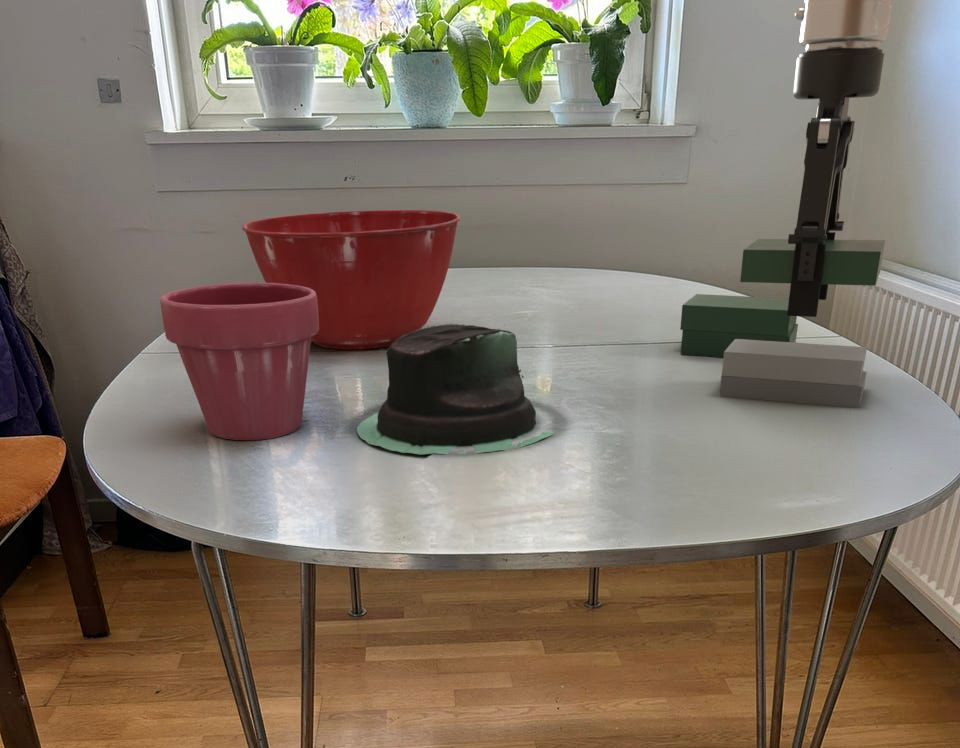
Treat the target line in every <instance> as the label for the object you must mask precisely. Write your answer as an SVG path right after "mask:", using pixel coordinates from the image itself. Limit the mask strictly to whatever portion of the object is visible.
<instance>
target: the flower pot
mask: <svg viewBox="0 0 960 748" xmlns="http://www.w3.org/2000/svg"><path fill="white" fill-rule="evenodd" d="M159 302H160V311H161V317H162V318H161V319H162V324H163V330H164V334H165V335H164V336H165V338H166V340H168V342H170V343H172V344H175V345H176V347H177V350H178V353H179V355H180V358H181V361H182V363H183V366H184V370H185V371H186V374H187V377H188V379H189V382H190V384H191V387H192V389H193V393H194V394H195V398H196V400H197V402H198V405H199V407H200V410H201V413H202V416H203V418H204V421H205V424H206V426H207V429H208V432H209V433H210V434H211V435H213V436H215V437H217V438H220V439H221V438H222V439H226V440H235V441H258V440H259V441H260V440H267V439H274V438H278V437H282V436H286V435H288V434H291V433H294V432H295V431H297V430H299V428H300V427H301V425H302V423H303V413H304V406H305V405H304V404H305V396H306V387H307V379H308V378H307V377H308V370H309V359H310V350H311V342H312V341H311V337H312V336H314V335H316V334H317V333H318V331H319V316H318V304H317V295H316V292H315V291H314V290H312V289H310V288H307V287H303V286H297V285H290V284H278V283H266V282H232V283H217V284H210V285H200V286H194V287H188V288H183V289H178V290H177V289H176V290H174V291H170V292H167V293H165V294H163V295H162V296H160V299H159Z"/></svg>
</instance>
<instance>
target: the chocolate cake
mask: <svg viewBox="0 0 960 748" xmlns="http://www.w3.org/2000/svg"><path fill="white" fill-rule="evenodd" d="M387 348H388V349H387V350H386V360H387V367H388V368H387V369H388V387H387V393H386V400H385V401H384V402H383V403H382V405H381V406H380V409H379V411H378V412H376V413H374V414H372V415H371V416H368V417H367V418H366V419H364V420H363V421H361V422H360V423H359V425H358V426H357V427H356V432H357V434H358V437H359V438H360V439H362V440H363V441H365V442H366V443H367V444H369V445H372V446H378V447H381V448H383V449H385V450H388V451H391V452H399V453H403V454H407V453H408V454H414V455H419V456H421V455H430V454H432V455H433V454H439V455H449V454H450V453H451V450H453V449H455V448H459V447H473V448H474V449H473V451H474V452H473V454H474V455H477V454H482V453H488V452H489V453H490V452H497V451H508V450H514V449H516V448H522V447H525V446H528V445H531V444H534V443H536V442H538V441H541V440H543V439H546V438H549V437H551V436H552V435H555V432H554V431H552V430H549V431H546V430H545V431H541V434H540V435H538V436H533V437H531V438H528V439H524V440H523V441H521V442H520V441H519V442H518V444H513V440H515V439H522V438H524V437H525V436H526V435H529V433H531V432H532V431H534V429H535V428H536V425H537V420H536V419H537V418H536V417H537V413H536V412H537V411H536V409H535V407H534V405H533V404H532V402H531V401H530V399H528V397H527V396H525V387H524V383H523V380H522V379H523V378H524V375H522V374H520V373H521V372H522V369H520V367H519V365H518V364H519V363H518V340H517V336H516V334H515V333H514V332H512V331H509V330H505V329H500V328H499V327H496V328H489V327H485V326H477V325H473V324H472V325H471V324H469V325H467V324H463V323H462V324H459V323H446V324H439V325H438V324H437V325H430V326H428V327H422V328H421V329H420V330H416V331H414V332H411V333H408V334H406V335H403V336H401V337H400V338H398V339H397V340H396V341H395V342H394V343H392V344H391V346H388V347H387ZM456 455H467V451H466V450H464V449H462V450H460V451H458V452H457V453H456Z"/></svg>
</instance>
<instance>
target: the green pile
mask: <svg viewBox="0 0 960 748" xmlns="http://www.w3.org/2000/svg"><path fill="white" fill-rule="evenodd" d="M788 303H789V298H785V297H767V296H766V297H764V296H744V295H743V296H742V295H726V294H725V295H723V294H703V293H696V294H695V295H693V296H692V297H690V298H689V299H688V300H686V301H685V302H684V303H682V305H681V316H680V317H681V318H680V328H679V329H680V331H682V333H681V343H680V344H681V345H680V355H681V356H683V355H684V356H697V357H698V356H699V357H712V358H724V351H725V350H726V349H727V348H728V347H729V346H730V345H731V343H732V342H733V341H734V340H735V339H745V340H761V341H776V342H792V343H797V335H798V328H799V323H797V318H798V316H787V311H788Z"/></svg>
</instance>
